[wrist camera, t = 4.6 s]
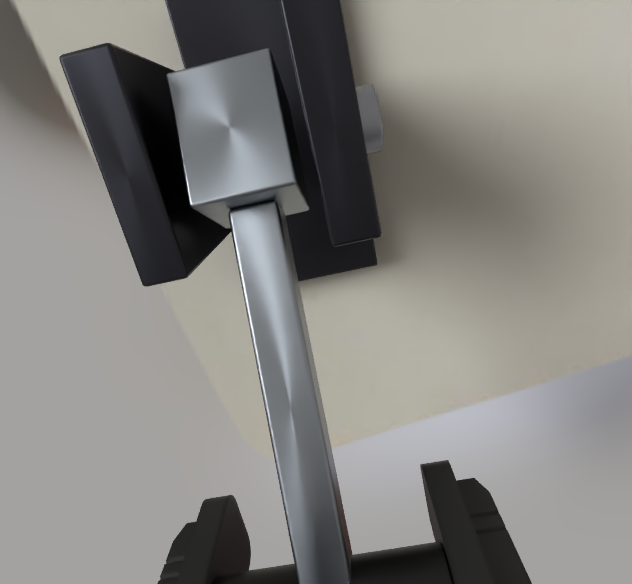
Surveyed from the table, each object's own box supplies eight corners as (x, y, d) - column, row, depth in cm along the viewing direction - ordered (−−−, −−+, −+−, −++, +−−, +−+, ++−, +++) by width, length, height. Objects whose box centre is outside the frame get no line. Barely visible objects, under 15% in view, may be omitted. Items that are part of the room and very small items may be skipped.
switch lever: (449, 592, 10) (476, 677, 8) (241, 621, 11) (208, 711, 8) (343, 88, 11) (339, 27, 9) (152, 135, 11) (98, 89, 9)
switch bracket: (375, 258, 21) (433, 396, 10) (252, 283, 22) (177, 442, 10) (320, -36, 17) (316, -350, 6) (173, 3, 18) (-80, -219, 7)
